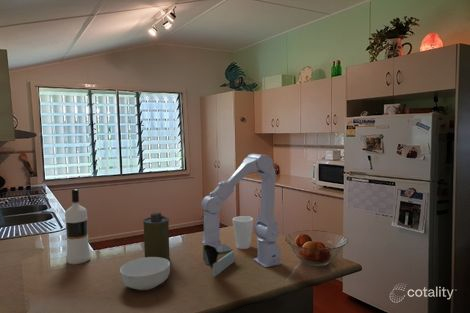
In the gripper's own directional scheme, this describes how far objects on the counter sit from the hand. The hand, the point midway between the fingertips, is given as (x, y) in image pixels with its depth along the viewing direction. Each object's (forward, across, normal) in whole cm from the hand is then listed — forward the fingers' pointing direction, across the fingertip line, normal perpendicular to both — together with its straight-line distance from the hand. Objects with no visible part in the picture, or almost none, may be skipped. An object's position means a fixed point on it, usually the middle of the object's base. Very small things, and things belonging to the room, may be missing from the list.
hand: (212, 264), depth 126 cm
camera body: (+4, -10, +7) cm, 13 cm away
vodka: (+4, -38, -44) cm, 59 cm away
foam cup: (+4, -20, +24) cm, 32 cm away
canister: (+4, -22, -15) cm, 27 cm away
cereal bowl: (+4, -2, -24) cm, 25 cm away
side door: (+3, -1, +5) cm, 6 cm away
